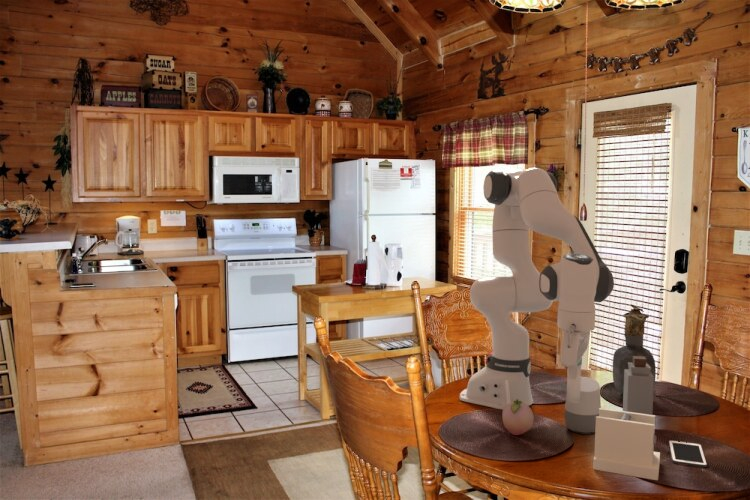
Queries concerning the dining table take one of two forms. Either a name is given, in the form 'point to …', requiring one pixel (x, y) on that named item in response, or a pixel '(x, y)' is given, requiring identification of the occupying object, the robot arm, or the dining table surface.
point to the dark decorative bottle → (631, 348)
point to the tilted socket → (626, 444)
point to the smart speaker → (584, 408)
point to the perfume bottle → (638, 387)
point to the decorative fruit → (517, 417)
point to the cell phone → (687, 453)
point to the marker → (574, 386)
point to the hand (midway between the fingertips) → (573, 375)
